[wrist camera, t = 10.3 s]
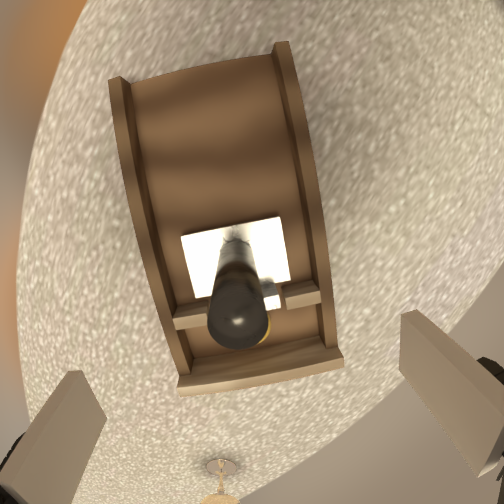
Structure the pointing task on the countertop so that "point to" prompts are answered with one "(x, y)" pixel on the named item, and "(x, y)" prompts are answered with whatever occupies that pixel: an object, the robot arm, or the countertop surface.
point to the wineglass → (220, 482)
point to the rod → (238, 277)
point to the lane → (228, 209)
